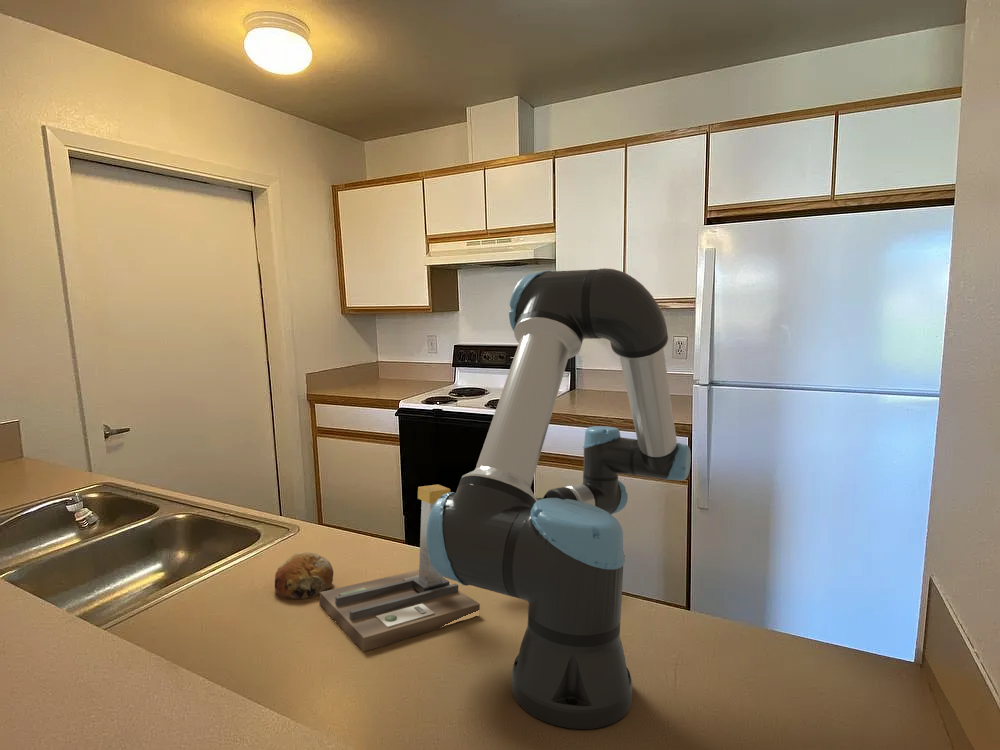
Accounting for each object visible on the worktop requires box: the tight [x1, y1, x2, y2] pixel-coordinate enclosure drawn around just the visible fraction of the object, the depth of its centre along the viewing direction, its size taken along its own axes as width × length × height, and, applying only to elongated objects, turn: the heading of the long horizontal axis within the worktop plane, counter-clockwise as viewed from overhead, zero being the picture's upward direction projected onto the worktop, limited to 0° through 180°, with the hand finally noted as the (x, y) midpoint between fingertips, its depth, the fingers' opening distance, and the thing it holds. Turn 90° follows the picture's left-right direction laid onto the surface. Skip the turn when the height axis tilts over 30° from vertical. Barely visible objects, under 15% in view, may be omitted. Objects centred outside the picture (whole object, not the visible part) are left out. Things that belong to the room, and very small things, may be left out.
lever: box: [412, 484, 451, 593], centre depth 93 cm, size 4×5×17 cm
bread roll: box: [274, 551, 334, 600], centre depth 97 cm, size 10×10×8 cm
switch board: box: [319, 569, 481, 653], centre depth 90 cm, size 18×20×3 cm
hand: (474, 524), depth 99 cm, fingers closed
